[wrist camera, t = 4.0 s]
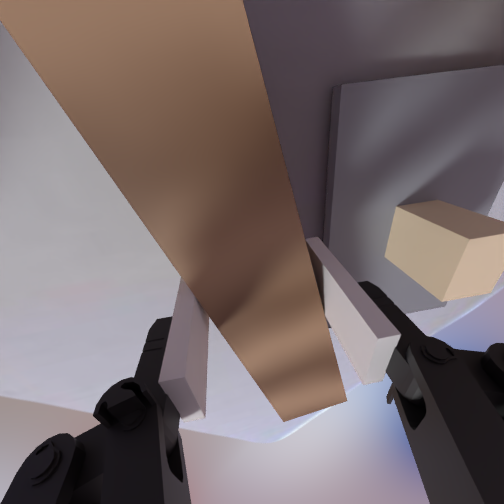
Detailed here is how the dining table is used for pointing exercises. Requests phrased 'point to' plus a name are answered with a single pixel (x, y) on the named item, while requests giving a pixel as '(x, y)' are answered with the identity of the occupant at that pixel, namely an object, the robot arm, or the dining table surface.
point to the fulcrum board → (418, 184)
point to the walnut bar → (195, 168)
